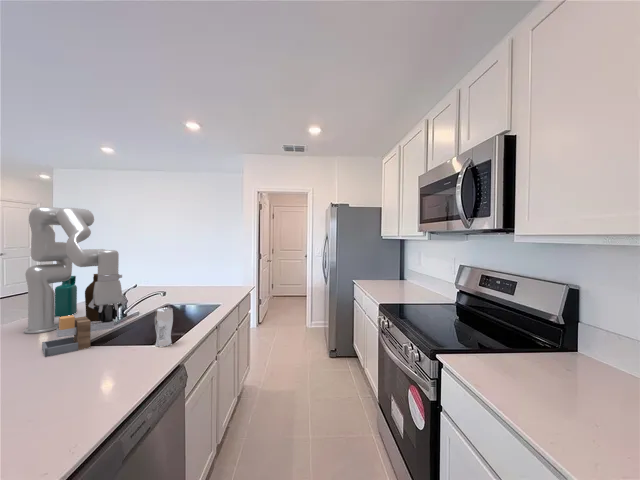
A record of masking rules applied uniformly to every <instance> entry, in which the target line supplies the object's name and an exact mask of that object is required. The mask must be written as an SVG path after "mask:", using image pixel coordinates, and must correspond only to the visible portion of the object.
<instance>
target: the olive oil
mask: <svg viewBox="0 0 640 480" xmlns="http://www.w3.org/2000/svg"><path fill="white" fill-rule="evenodd" d="M92 278H93V281H92V282H91V283H89V284H88V286H87V287H86V288H85V290H84V300H85V301H84V303H85V316H86V317H87V318H88V319H89V320H90V321H91V322H101V321H100V320H98V311H96V310H95V309H93V308H90V307H89V306H88V305H89V303H90V302H91V301H92V299H93V292H94V285H95V282H98V273H93V277H92ZM94 306H96V307H98V305H95V304H94Z"/></svg>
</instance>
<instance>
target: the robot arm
mask: <svg viewBox="0 0 640 480" xmlns="http://www.w3.org/2000/svg"><path fill="white" fill-rule="evenodd" d="M94 222H95V216H94V214H93V212H92V211H90V210H89V209H86V208H75V207H53V206H38V207H34V208H33V209H32V210H31V211H30V212H29V215H28V223H29V227H30V231H31V242H30V246H31V247H30V256H31V259H32V260H33V261H35V262H37V263H39V262H41V263H43V262H44V263H45V264H44V263H43V264H35V265H32V266H30V267H28V268H27V269H26V271H25V274H24V275H25V276H24V277H25V280H26V284H27V285H26V286H27V299H28V300H27V306H28V307H27V327H25V328H24V329H23V331H22V332H23V333H24V334H41V333H45V332H52V331H54V330H57V328H59V323H55V289H54V288H53V287H52V286H51V285H50V284H55V283H62V282H64V281H67V280H69V279H70V277H71V276H72V274H73V264H74V265H75V266H77V267H79V268H88V267H97V274H98V282H95V285H94V292H93V299H92V301H91V302H90V303H89V305H88V306H89V307H90V308H93V309H95V310H96V311H98V320H100V321H99V322H102V321H103V312H102V308H103V305H109V304H112V305H113V321H115V320H116V319H117V317H118V311H119V309H120V308H121V307H122V306H123V305H125V304H126V303H127V300H126V299H125V298H124V296H123V291H122V283H121V281H120V279H121V278H123V274H119V264H120V263H119V252H118V251H117V250H116V249H104V248H96V249H94V248H92V249H90V248H89V249H87V248H86V249H83V248H81V247H80V245H79V243H80V242H83V241H85V240H87V239H88V238H90V237H91V234H92V230H91V229H90V228H89V227H91V226H92V225H93V224H94ZM51 226H60V227H61V228H62V229H63V231H64V233H65V235H67V237H68V238H67V240H66V242H64V241H56V232H55V230H54V229H53V228H52V227H51ZM46 262H47V263H48V262H56V263H48V264H47V263H46ZM94 304H95V305H98V307H96V306H94Z"/></svg>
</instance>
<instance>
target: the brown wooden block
mask: <svg viewBox="0 0 640 480" xmlns="http://www.w3.org/2000/svg"><path fill="white" fill-rule="evenodd" d="M91 323H92V321H90V320H89V319H88V318H87V317H86V315H85V316H78V317H75V326H77V334H76V335H73V337H74V343H77V342H78V351H79V350H85V349H84V348H86V349H90V348H91V332H90V329H91ZM89 347H90V348H89Z"/></svg>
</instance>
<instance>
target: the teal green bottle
mask: <svg viewBox="0 0 640 480" xmlns="http://www.w3.org/2000/svg"><path fill="white" fill-rule="evenodd" d="M76 277H77V275H71V277H70V279H69V280H67V281H64V282H61V284H60V285H57V286H56V287H55V288H54V293H55V312H54V317H56V316H61V317H62V316H68V315H72V314H74V313H76V312H77V313H78V311H77V310H78V286H77V285H76V279H77V278H76ZM77 313H76V314H77ZM74 315H75V314H74Z"/></svg>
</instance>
